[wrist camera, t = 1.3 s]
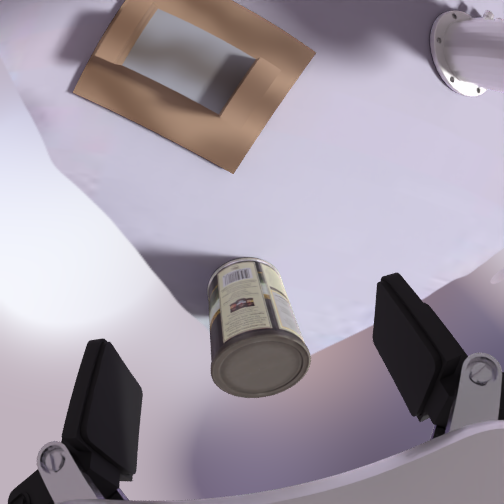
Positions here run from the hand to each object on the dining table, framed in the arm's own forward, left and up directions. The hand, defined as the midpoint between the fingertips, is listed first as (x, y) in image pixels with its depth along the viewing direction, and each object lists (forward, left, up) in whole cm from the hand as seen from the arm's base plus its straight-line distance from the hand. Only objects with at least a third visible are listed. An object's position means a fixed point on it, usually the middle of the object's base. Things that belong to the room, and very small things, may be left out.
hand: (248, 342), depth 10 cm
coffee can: (+14, +12, -27) cm, 33 cm away
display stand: (-7, -8, -27) cm, 29 cm away
